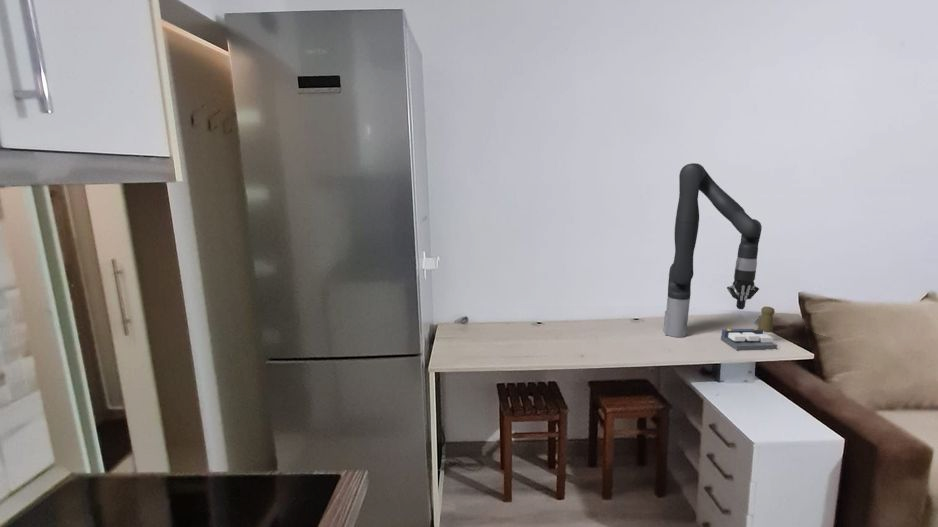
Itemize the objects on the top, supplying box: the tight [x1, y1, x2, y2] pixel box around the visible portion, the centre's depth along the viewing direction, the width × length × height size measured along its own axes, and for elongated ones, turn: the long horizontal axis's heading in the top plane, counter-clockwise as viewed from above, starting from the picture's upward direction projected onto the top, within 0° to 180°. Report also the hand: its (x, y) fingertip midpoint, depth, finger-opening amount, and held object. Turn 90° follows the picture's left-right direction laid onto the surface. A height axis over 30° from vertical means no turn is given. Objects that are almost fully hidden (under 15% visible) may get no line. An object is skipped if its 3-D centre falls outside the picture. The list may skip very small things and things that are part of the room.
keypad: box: [720, 327, 778, 351], centre depth 212 cm, size 17×12×5 cm
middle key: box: [742, 332, 759, 341], centre depth 211 cm, size 5×5×2 cm
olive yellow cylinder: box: [757, 306, 775, 333], centre depth 229 cm, size 6×6×11 cm
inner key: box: [728, 333, 746, 341], centre depth 210 cm, size 5×5×2 cm
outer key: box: [756, 333, 774, 343], centre depth 211 cm, size 5×5×2 cm
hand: (740, 308), depth 208 cm, fingers closed
